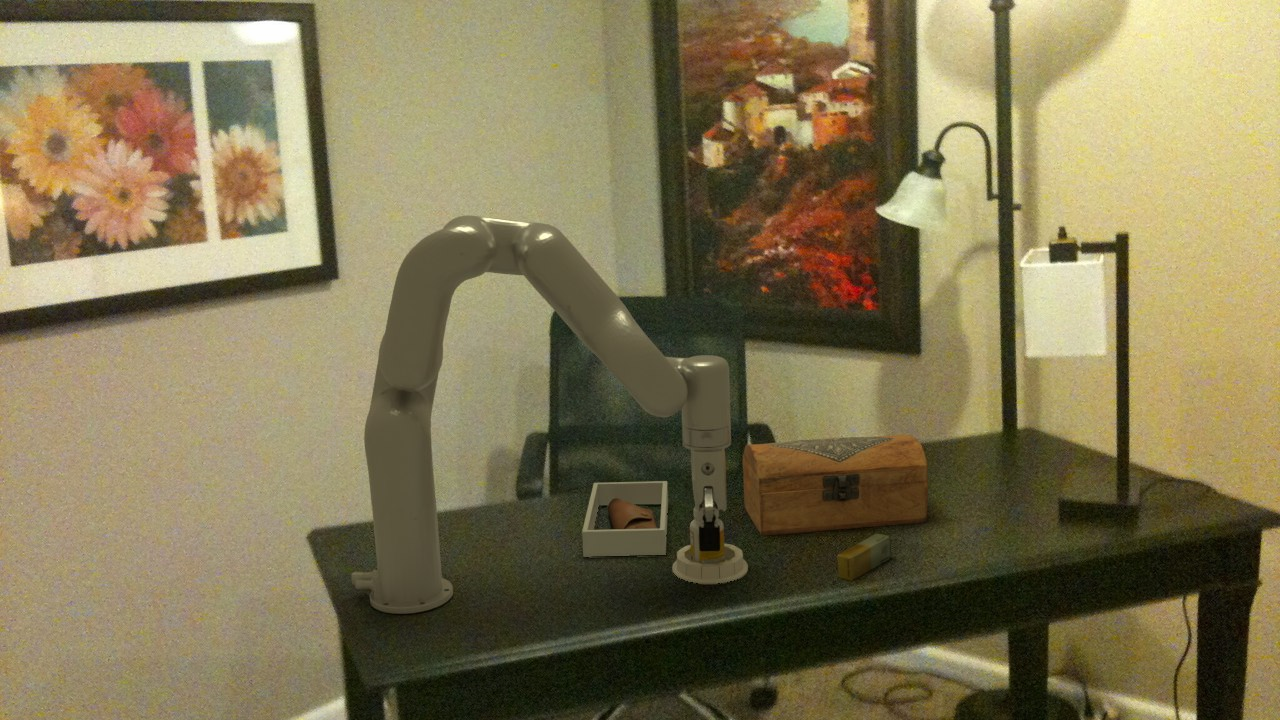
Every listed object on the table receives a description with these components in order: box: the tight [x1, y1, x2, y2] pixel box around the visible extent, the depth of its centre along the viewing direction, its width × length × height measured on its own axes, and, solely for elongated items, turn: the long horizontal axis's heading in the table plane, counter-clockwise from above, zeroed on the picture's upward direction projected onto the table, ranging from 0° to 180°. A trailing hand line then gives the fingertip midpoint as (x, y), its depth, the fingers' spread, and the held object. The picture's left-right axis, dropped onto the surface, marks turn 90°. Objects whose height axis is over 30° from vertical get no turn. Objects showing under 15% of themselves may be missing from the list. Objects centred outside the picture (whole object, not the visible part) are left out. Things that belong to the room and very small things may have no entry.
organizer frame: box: [581, 480, 669, 558], centre depth 210 cm, size 14×26×4 cm, turn 178°
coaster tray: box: [671, 542, 749, 585], centre depth 191 cm, size 12×12×3 cm
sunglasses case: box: [607, 498, 659, 529], centre depth 210 cm, size 18×7×7 cm
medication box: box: [836, 532, 892, 582], centre depth 190 cm, size 12×3×4 cm, turn 137°
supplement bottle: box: [689, 505, 725, 564], centre depth 190 cm, size 5×5×10 cm
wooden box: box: [742, 434, 929, 536], centre depth 212 cm, size 30×16×14 cm, turn 95°
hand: (709, 539), depth 190 cm, fingers open, 9 cm apart
